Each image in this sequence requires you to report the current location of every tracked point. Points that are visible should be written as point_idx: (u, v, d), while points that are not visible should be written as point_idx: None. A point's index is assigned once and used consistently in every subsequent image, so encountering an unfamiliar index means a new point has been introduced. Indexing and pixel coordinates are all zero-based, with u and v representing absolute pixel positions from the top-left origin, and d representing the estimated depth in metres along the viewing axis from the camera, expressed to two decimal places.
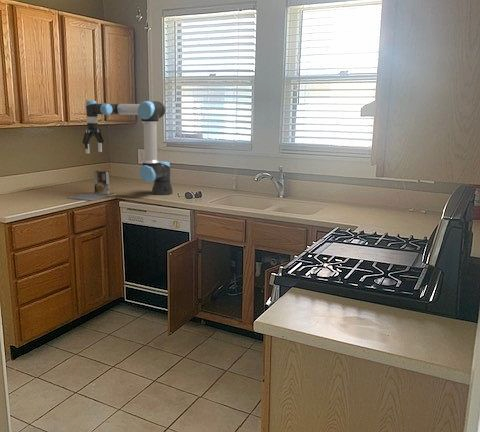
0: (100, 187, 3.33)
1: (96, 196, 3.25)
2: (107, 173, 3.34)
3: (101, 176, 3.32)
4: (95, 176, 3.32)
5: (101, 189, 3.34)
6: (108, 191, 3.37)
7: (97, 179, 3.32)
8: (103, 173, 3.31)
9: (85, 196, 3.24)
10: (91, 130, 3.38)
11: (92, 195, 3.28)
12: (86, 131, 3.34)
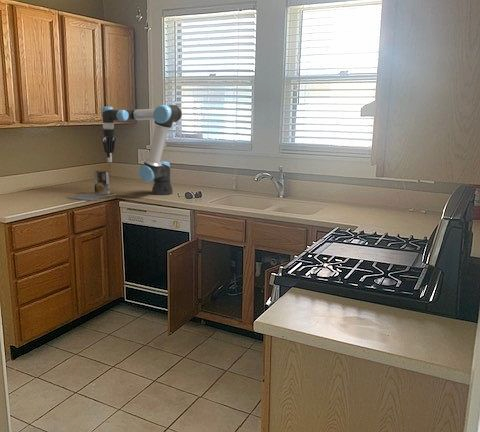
0: (100, 187, 3.33)
1: (96, 196, 3.25)
2: (107, 173, 3.34)
3: (101, 176, 3.32)
4: (95, 176, 3.32)
5: (101, 189, 3.34)
6: (108, 191, 3.37)
7: (97, 179, 3.32)
8: (103, 173, 3.31)
9: (85, 196, 3.24)
10: (107, 136, 3.34)
11: (92, 195, 3.28)
12: (103, 141, 3.33)
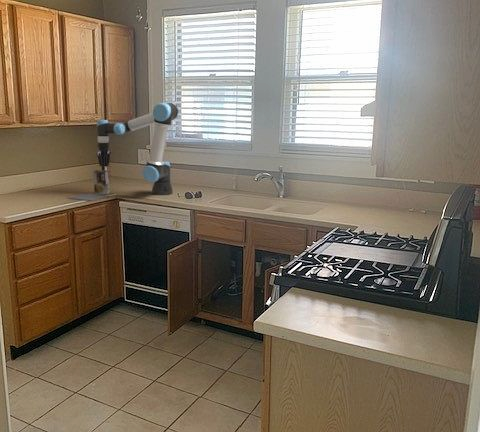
0: (99, 187, 3.33)
1: (96, 196, 3.25)
2: (106, 173, 3.32)
3: (101, 177, 3.30)
4: (94, 176, 3.31)
5: (101, 189, 3.33)
6: (108, 191, 3.36)
7: (96, 179, 3.31)
8: (102, 173, 3.30)
9: (85, 196, 3.24)
10: (101, 150, 3.31)
11: (92, 195, 3.28)
12: (98, 154, 3.29)
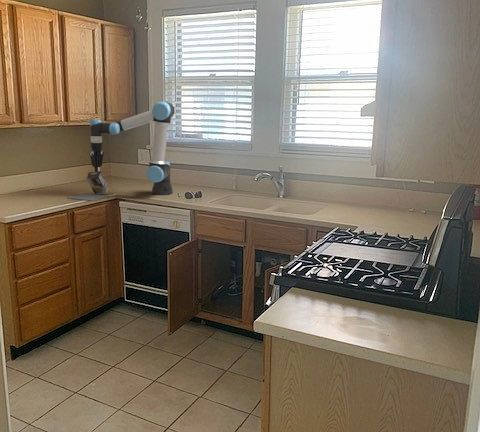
0: (97, 189, 3.31)
1: (96, 196, 3.25)
2: (100, 175, 3.25)
3: (96, 181, 3.25)
4: (89, 181, 3.25)
5: (99, 190, 3.31)
6: (107, 188, 3.35)
7: (92, 183, 3.27)
8: (97, 178, 3.23)
9: (85, 196, 3.24)
10: (94, 150, 3.24)
11: (92, 195, 3.28)
12: (91, 155, 3.23)
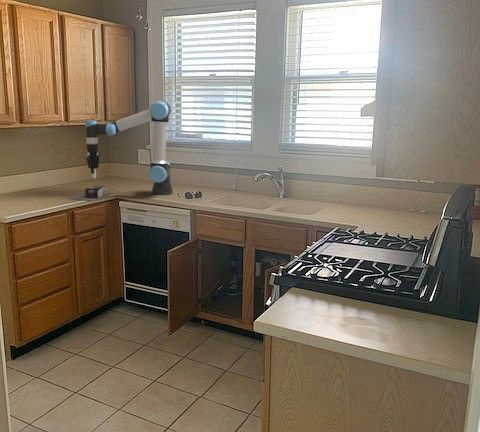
0: None
1: None
2: (98, 193, 3.19)
3: None
4: None
5: None
6: (105, 190, 3.31)
7: None
8: (96, 197, 3.19)
9: (85, 196, 3.24)
10: (90, 151, 3.20)
11: None
12: (87, 156, 3.19)
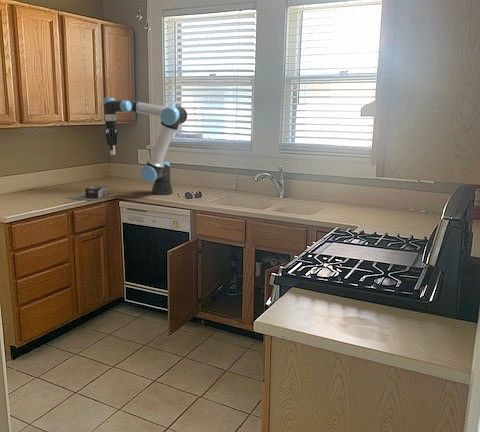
0: None
1: None
2: (98, 193, 3.19)
3: None
4: None
5: None
6: (105, 190, 3.31)
7: None
8: None
9: (85, 196, 3.24)
10: (109, 128, 3.28)
11: None
12: (106, 133, 3.26)
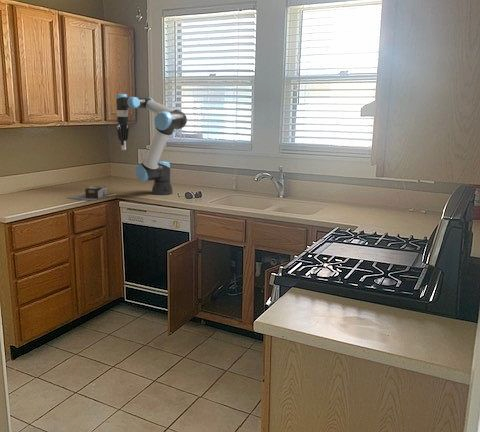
0: None
1: None
2: (98, 193, 3.19)
3: None
4: None
5: None
6: (105, 190, 3.31)
7: None
8: None
9: (85, 196, 3.24)
10: (121, 124, 3.35)
11: None
12: (117, 128, 3.33)
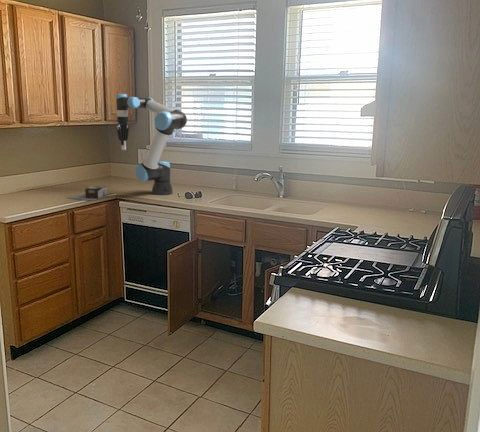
0: None
1: None
2: (98, 193, 3.19)
3: None
4: None
5: None
6: (105, 190, 3.31)
7: None
8: None
9: (85, 196, 3.24)
10: (121, 124, 3.35)
11: None
12: (118, 128, 3.33)
